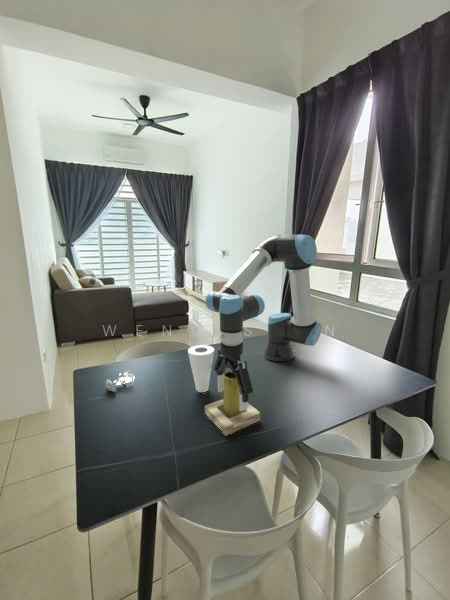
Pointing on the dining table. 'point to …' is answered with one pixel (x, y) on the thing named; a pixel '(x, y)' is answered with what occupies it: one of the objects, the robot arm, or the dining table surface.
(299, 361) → the dining table surface
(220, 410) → the square wooden frame
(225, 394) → the vase
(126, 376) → the figurine
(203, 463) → the dining table surface
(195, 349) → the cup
